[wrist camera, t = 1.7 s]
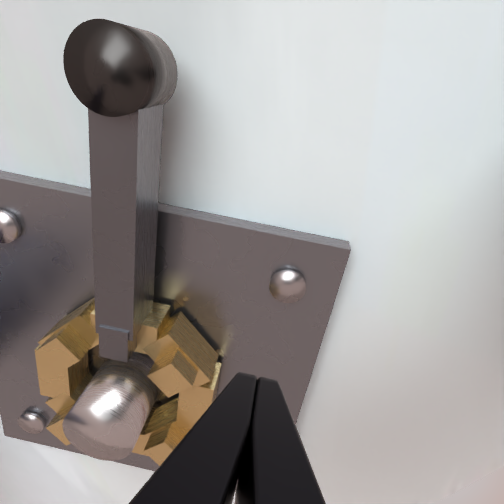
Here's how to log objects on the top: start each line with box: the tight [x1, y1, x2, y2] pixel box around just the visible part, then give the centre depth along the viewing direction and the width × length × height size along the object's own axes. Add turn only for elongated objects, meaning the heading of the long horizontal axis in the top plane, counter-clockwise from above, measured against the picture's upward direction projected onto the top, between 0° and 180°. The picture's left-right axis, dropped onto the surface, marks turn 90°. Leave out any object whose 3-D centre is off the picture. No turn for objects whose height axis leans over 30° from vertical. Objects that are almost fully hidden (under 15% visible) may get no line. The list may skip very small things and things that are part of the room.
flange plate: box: [0, 171, 351, 490], centre depth 21 cm, size 20×20×6 cm
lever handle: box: [35, 19, 222, 466], centre depth 18 cm, size 10×22×4 cm, turn 171°
